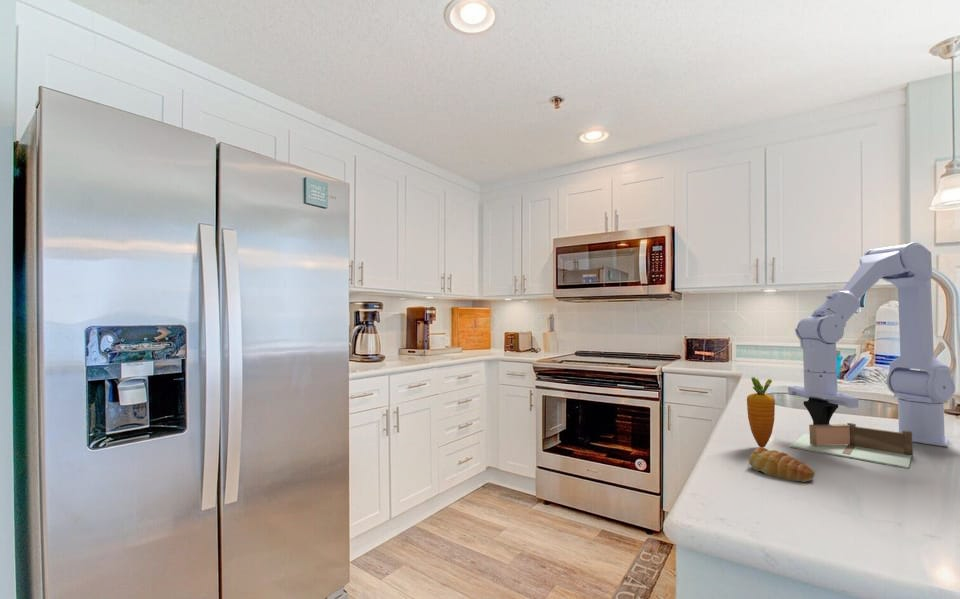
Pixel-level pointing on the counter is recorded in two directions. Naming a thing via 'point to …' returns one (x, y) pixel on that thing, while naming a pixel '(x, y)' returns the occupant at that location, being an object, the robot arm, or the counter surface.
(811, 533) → the counter surface
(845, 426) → the hinged panel
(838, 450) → the card
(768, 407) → the carrot
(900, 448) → the fence fixed
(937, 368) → the robot arm
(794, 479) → the pastry
